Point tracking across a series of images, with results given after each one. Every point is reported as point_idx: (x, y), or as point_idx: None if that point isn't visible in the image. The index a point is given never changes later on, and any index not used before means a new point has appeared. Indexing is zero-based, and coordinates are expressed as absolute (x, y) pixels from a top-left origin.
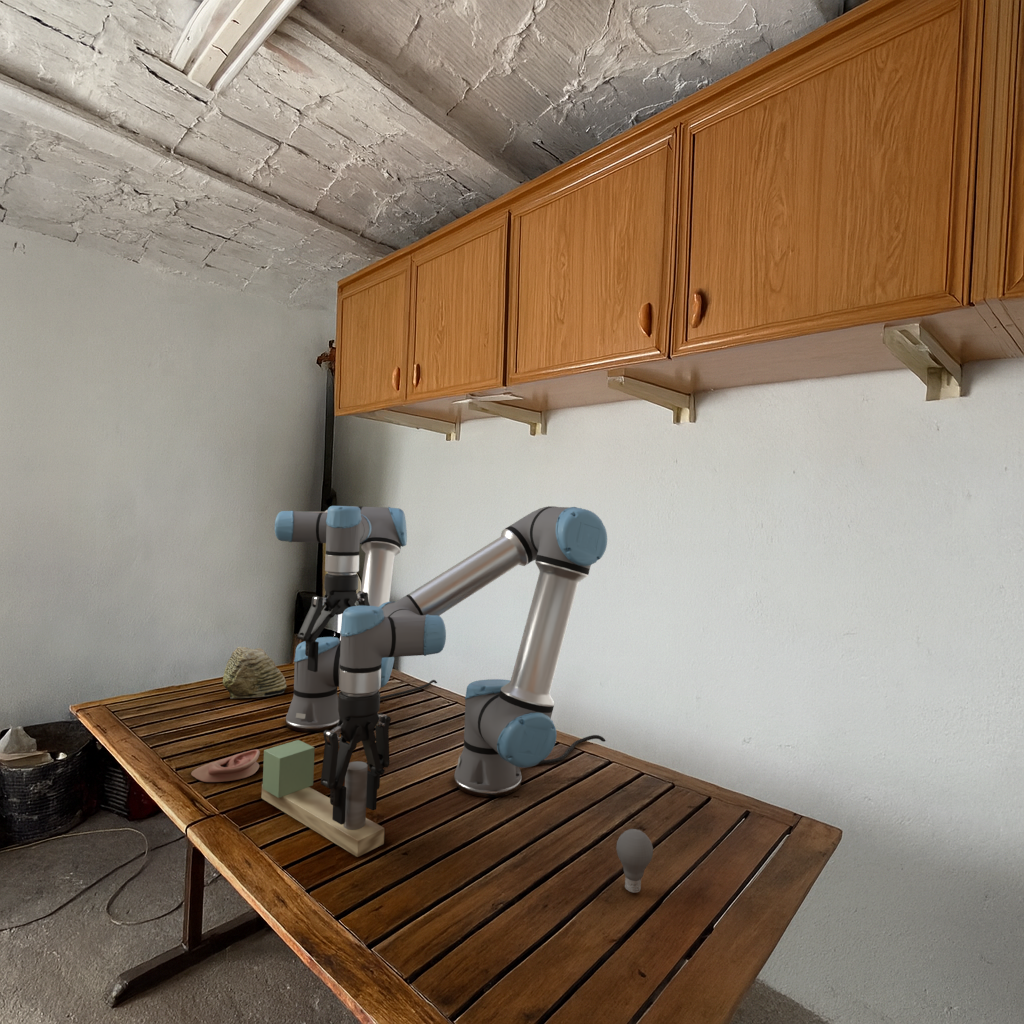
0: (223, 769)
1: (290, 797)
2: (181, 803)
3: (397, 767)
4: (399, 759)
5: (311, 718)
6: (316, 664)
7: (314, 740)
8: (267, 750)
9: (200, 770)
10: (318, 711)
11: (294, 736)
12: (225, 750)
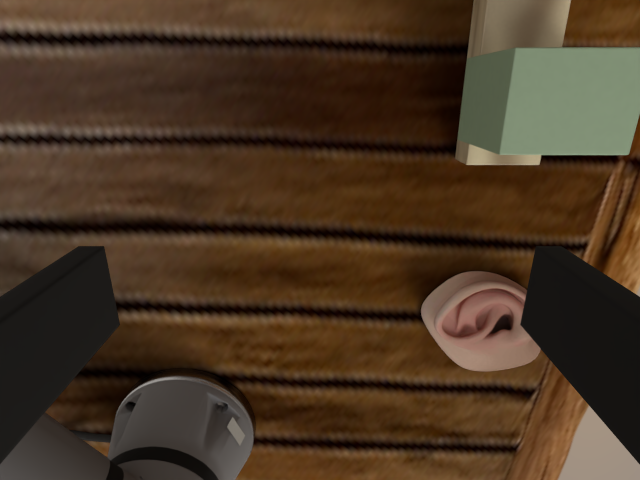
0: None
1: (553, 37)
2: (628, 256)
3: (176, 54)
4: (140, 95)
5: (213, 413)
6: (581, 267)
7: (247, 341)
8: (626, 142)
9: (534, 345)
10: (196, 416)
11: (269, 386)
12: (416, 412)
